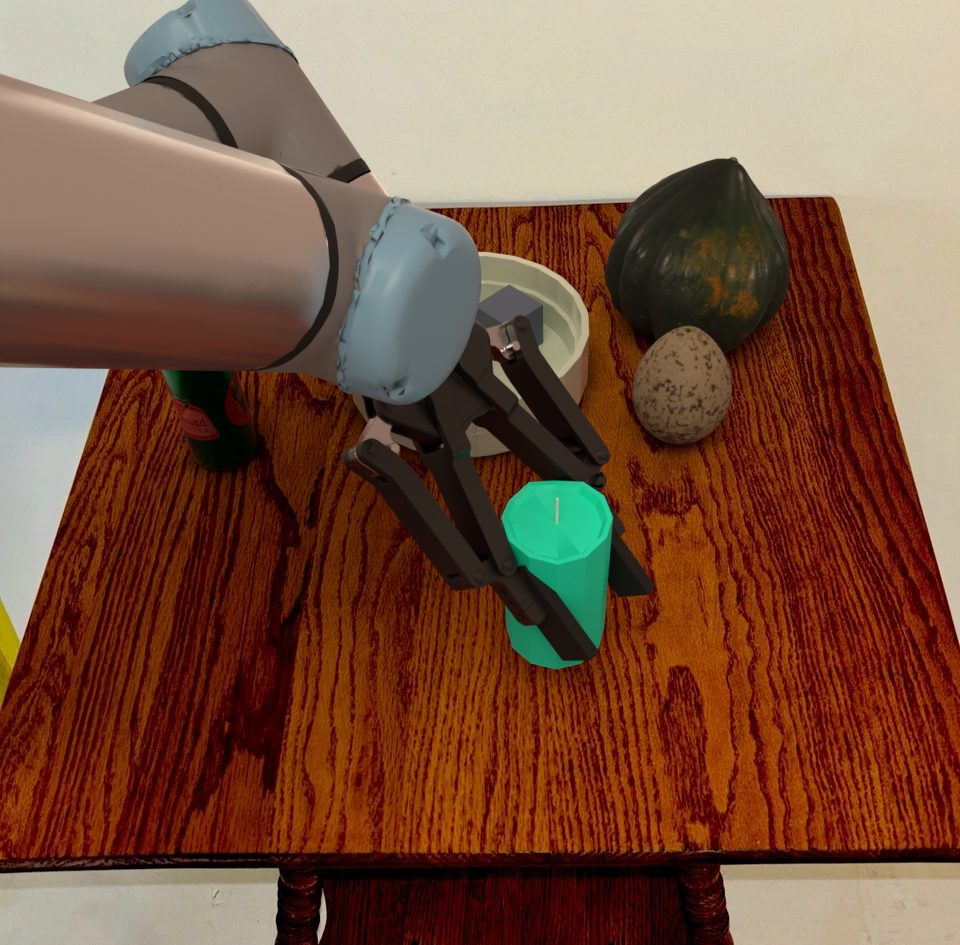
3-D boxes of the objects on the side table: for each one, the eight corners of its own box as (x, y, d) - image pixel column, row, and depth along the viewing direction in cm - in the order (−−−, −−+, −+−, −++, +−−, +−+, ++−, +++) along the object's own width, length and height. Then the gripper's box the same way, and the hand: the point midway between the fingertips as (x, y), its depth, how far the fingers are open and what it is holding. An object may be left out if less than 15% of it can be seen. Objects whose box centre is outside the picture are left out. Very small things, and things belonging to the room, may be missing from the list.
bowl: (458, 501, 75) (453, 449, 71) (305, 377, 86) (293, 325, 82) (636, 376, 84) (640, 323, 80) (477, 276, 94) (474, 224, 90)
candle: (621, 612, 64) (634, 483, 55) (574, 685, 61) (580, 560, 52) (536, 573, 66) (536, 443, 57) (487, 641, 63) (479, 514, 54)
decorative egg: (636, 394, 82) (645, 293, 75) (728, 407, 81) (746, 304, 74) (622, 458, 78) (630, 356, 70) (718, 472, 76) (737, 370, 69)
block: (509, 365, 84) (507, 327, 82) (476, 343, 87) (473, 305, 84) (543, 342, 86) (543, 304, 83) (510, 321, 88) (509, 283, 85)
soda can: (180, 455, 80) (134, 335, 71) (229, 419, 83) (192, 298, 74) (222, 485, 78) (180, 364, 69) (272, 446, 80) (238, 325, 71)
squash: (584, 334, 79) (732, 193, 71) (565, 229, 90) (692, 97, 82) (709, 417, 86) (858, 297, 78) (678, 310, 96) (806, 195, 88)
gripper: (442, 230, 62) (653, 534, 67) (213, 393, 53) (475, 731, 58) (508, 179, 56) (737, 519, 60) (261, 355, 47) (551, 739, 51)
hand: (609, 622), depth 59 cm, fingers closed on candle, 5 cm apart
